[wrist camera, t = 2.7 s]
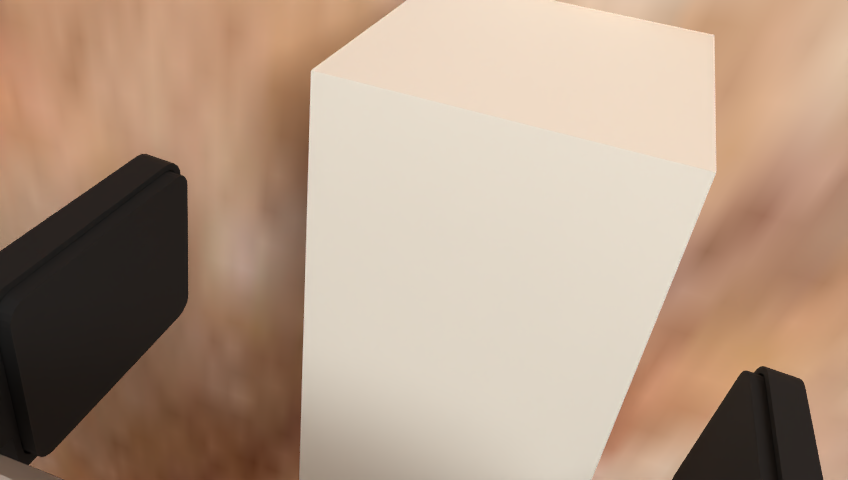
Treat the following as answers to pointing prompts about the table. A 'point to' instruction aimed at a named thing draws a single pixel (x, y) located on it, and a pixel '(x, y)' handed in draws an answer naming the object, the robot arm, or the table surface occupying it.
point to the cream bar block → (493, 234)
